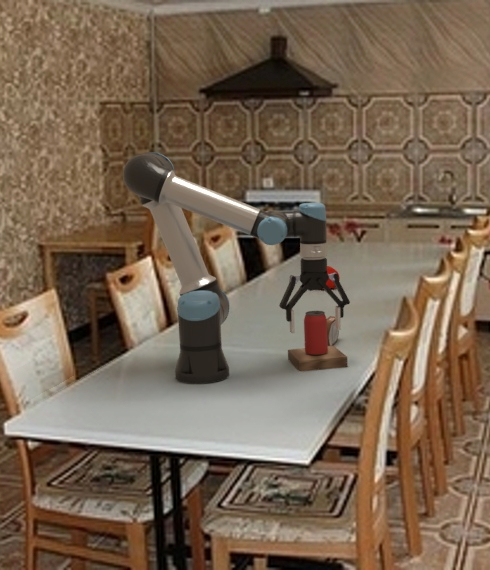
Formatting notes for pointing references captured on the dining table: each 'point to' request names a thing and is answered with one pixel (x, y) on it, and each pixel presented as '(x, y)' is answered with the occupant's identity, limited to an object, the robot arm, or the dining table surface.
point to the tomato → (329, 282)
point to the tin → (331, 331)
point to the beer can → (315, 333)
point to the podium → (317, 359)
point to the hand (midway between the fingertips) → (315, 330)
